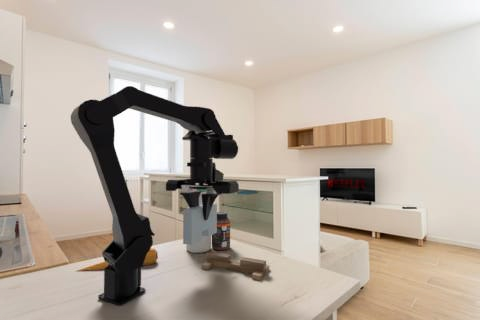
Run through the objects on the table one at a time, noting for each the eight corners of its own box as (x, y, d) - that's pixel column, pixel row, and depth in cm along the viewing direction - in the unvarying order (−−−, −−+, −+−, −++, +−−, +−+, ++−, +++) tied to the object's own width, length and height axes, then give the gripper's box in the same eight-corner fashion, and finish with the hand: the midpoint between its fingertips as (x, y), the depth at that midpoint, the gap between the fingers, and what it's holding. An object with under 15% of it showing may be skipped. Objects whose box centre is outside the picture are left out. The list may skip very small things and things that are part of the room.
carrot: (158, 263, 72) (156, 247, 74) (158, 263, 68) (156, 245, 70) (76, 281, 65) (76, 262, 67) (70, 281, 62) (71, 261, 63)
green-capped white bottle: (215, 248, 83) (216, 185, 83) (200, 255, 76) (200, 187, 77) (197, 244, 87) (197, 184, 87) (180, 250, 80) (181, 186, 81)
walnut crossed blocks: (259, 280, 60) (259, 267, 60) (201, 268, 67) (201, 256, 67) (269, 269, 66) (269, 257, 66) (215, 259, 73) (215, 248, 73)
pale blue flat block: (191, 245, 60) (191, 210, 60) (183, 243, 61) (183, 209, 61) (216, 232, 71) (216, 203, 71) (209, 231, 72) (209, 202, 72)
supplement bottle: (229, 251, 80) (229, 214, 80) (210, 251, 80) (210, 214, 80) (230, 244, 86) (230, 211, 86) (212, 245, 86) (212, 211, 86)
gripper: (247, 158, 70) (247, 216, 70) (189, 159, 77) (189, 211, 77) (228, 158, 60) (228, 225, 59) (164, 158, 67) (164, 218, 67)
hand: (201, 219), depth 66 cm, fingers closed on pale blue flat block, 2 cm apart
